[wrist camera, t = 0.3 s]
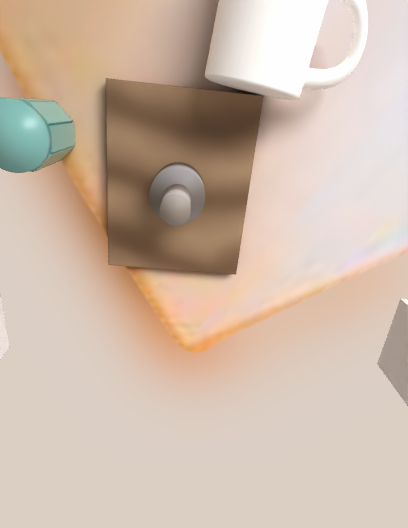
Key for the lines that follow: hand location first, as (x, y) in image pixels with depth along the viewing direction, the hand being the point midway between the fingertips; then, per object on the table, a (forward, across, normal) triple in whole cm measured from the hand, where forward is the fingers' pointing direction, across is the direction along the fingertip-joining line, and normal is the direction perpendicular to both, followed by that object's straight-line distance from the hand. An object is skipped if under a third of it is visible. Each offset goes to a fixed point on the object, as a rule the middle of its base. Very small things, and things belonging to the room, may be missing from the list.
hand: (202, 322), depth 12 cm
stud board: (+26, -2, -1) cm, 26 cm away
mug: (+26, +7, +13) cm, 30 cm away
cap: (+26, -14, +3) cm, 30 cm away
